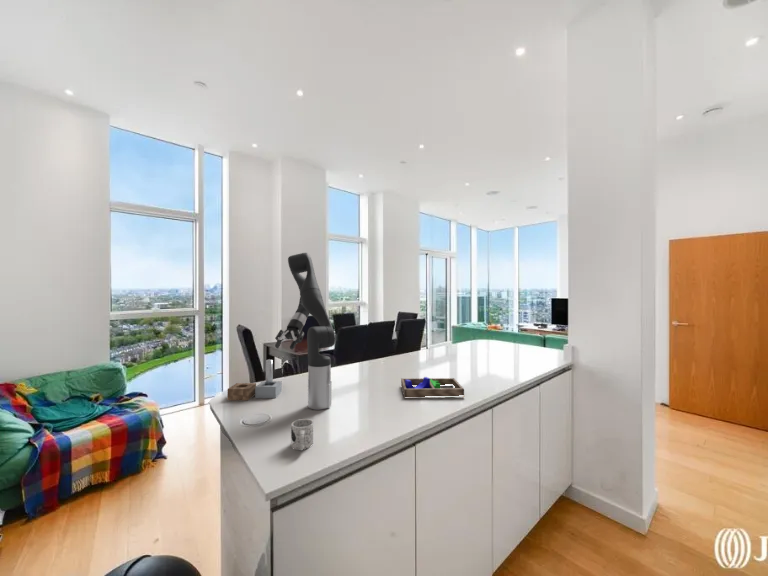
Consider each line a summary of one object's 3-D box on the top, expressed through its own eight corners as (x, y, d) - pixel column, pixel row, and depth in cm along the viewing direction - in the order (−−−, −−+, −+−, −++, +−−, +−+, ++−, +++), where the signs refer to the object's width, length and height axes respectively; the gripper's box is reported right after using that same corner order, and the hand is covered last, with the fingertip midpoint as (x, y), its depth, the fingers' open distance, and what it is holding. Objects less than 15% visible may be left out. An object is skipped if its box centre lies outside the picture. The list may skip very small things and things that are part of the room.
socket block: (281, 391, 150) (281, 381, 150) (275, 397, 141) (275, 386, 141) (262, 391, 149) (262, 381, 149) (255, 398, 140) (255, 386, 140)
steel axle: (273, 393, 147) (273, 359, 147) (271, 395, 144) (271, 360, 144) (266, 393, 147) (267, 359, 147) (264, 395, 144) (265, 360, 144)
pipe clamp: (441, 395, 145) (441, 385, 145) (433, 395, 145) (433, 385, 145) (437, 388, 157) (437, 378, 157) (429, 388, 156) (429, 378, 156)
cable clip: (424, 388, 155) (424, 376, 155) (429, 390, 151) (429, 378, 151) (403, 391, 149) (403, 379, 149) (408, 394, 145) (408, 381, 145)
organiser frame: (454, 386, 159) (454, 378, 159) (464, 397, 141) (464, 389, 141) (401, 386, 159) (401, 378, 159) (404, 398, 141) (404, 389, 141)
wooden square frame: (256, 393, 146) (256, 383, 146) (248, 400, 137) (248, 388, 137) (236, 393, 146) (236, 383, 146) (227, 400, 137) (227, 389, 137)
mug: (291, 440, 100) (291, 419, 100) (313, 438, 101) (313, 418, 101) (289, 456, 90) (289, 433, 90) (313, 454, 92) (313, 431, 92)
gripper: (282, 318, 167) (268, 342, 156) (306, 318, 162) (292, 344, 151) (288, 326, 172) (275, 351, 161) (311, 327, 167) (299, 353, 156)
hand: (283, 348), depth 156 cm, fingers open, 8 cm apart
